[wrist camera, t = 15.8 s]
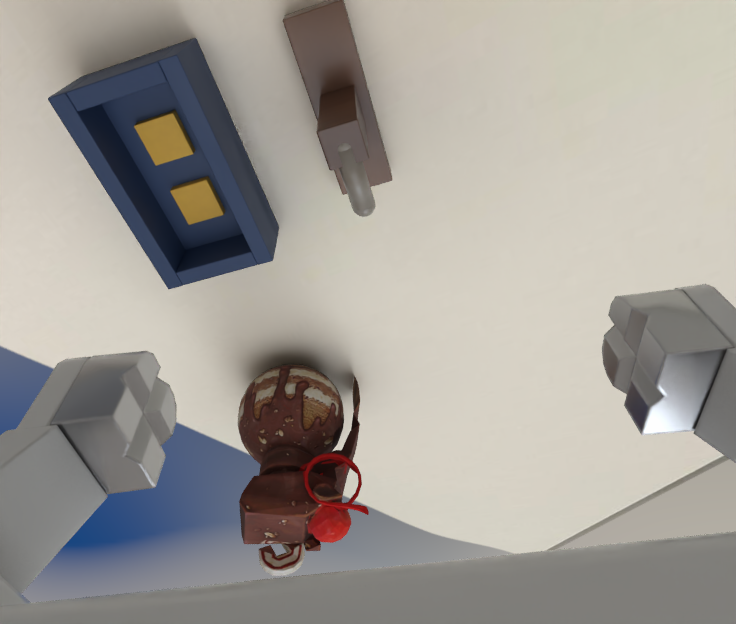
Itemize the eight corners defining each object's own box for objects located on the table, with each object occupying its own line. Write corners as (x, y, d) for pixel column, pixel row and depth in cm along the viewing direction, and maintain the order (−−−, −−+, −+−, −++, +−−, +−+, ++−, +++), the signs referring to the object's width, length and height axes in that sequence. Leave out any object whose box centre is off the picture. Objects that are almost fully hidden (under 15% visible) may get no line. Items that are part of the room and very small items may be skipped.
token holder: (80, 76, 29) (46, 98, 26) (196, 37, 28) (176, 54, 25) (184, 254, 36) (168, 289, 33) (279, 227, 35) (273, 261, 32)
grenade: (363, 347, 42) (373, 518, 30) (354, 416, 47) (360, 587, 35) (243, 341, 41) (205, 515, 29) (247, 412, 46) (215, 586, 34)
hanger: (284, 15, 28) (269, 44, 22) (342, -5, 28) (343, 19, 21) (342, 185, 34) (343, 244, 28) (390, 171, 33) (402, 228, 27)
